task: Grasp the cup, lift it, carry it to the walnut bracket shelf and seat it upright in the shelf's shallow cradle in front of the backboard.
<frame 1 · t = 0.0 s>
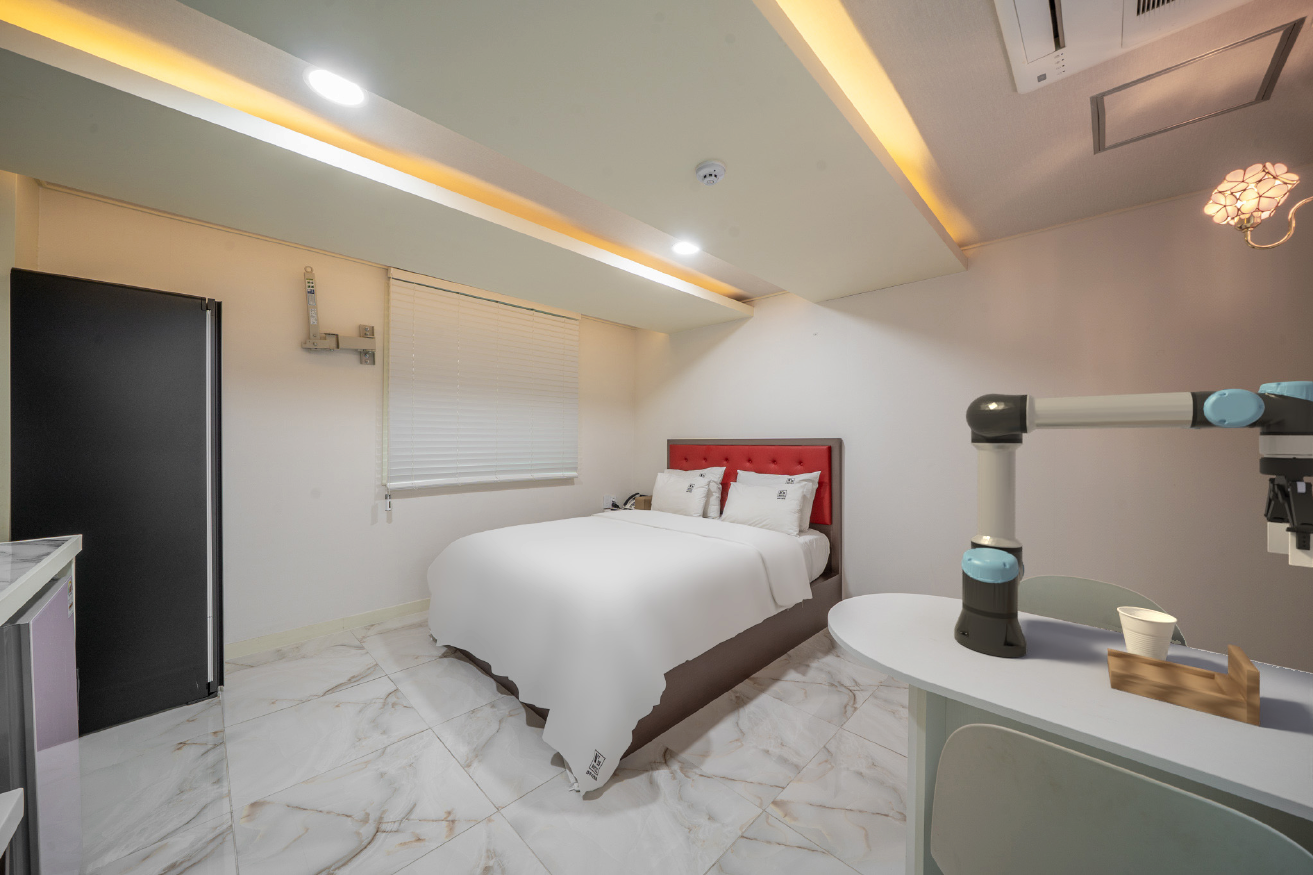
hand: (1288, 559, 96), 28 cm above the table, fingers open, 13 cm apart
bracket shelf: (1169, 690, 97), on the table
cup: (1146, 660, 110), on the table
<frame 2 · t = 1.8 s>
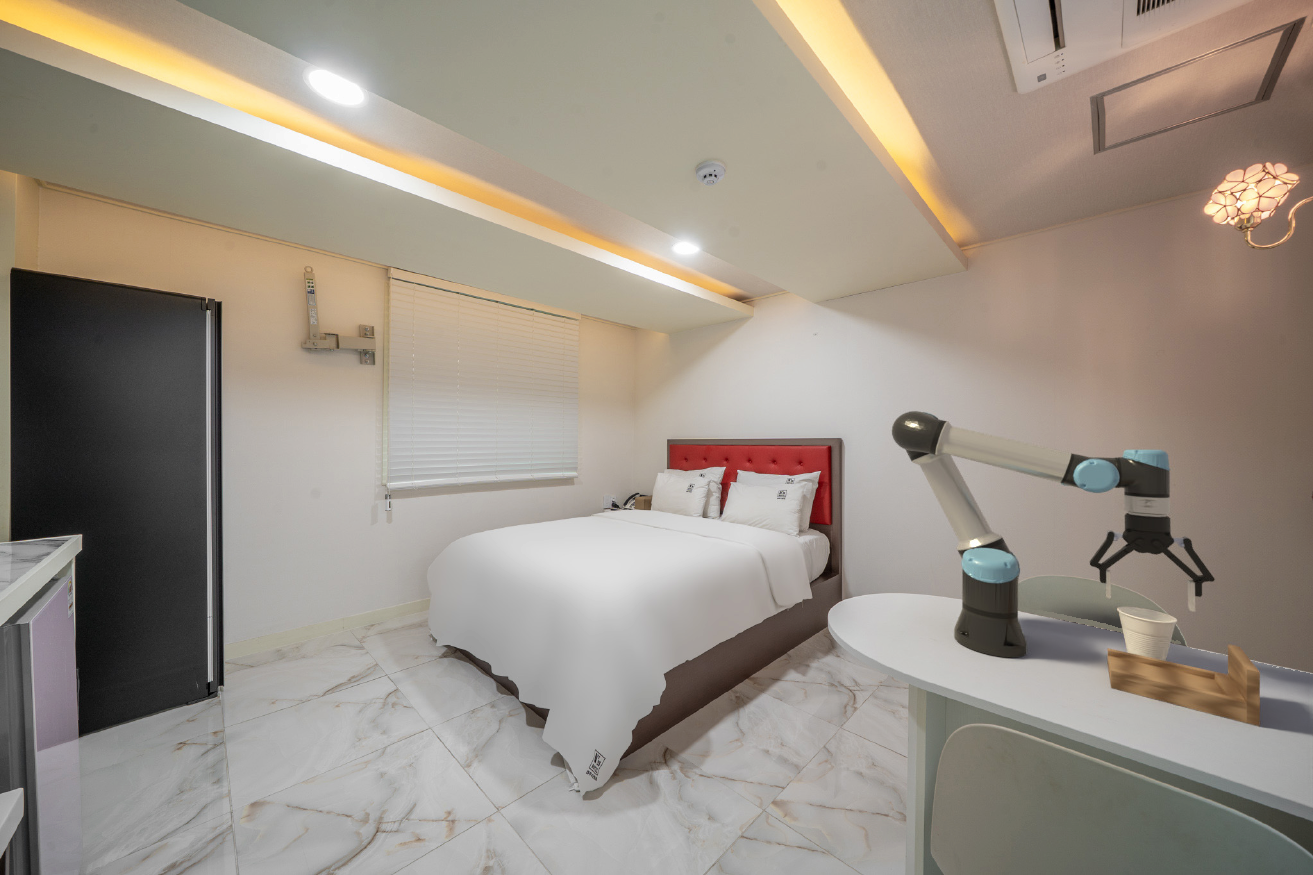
hand: (1148, 603, 110), 14 cm above the table, fingers open, 13 cm apart
nothing on the table moved.
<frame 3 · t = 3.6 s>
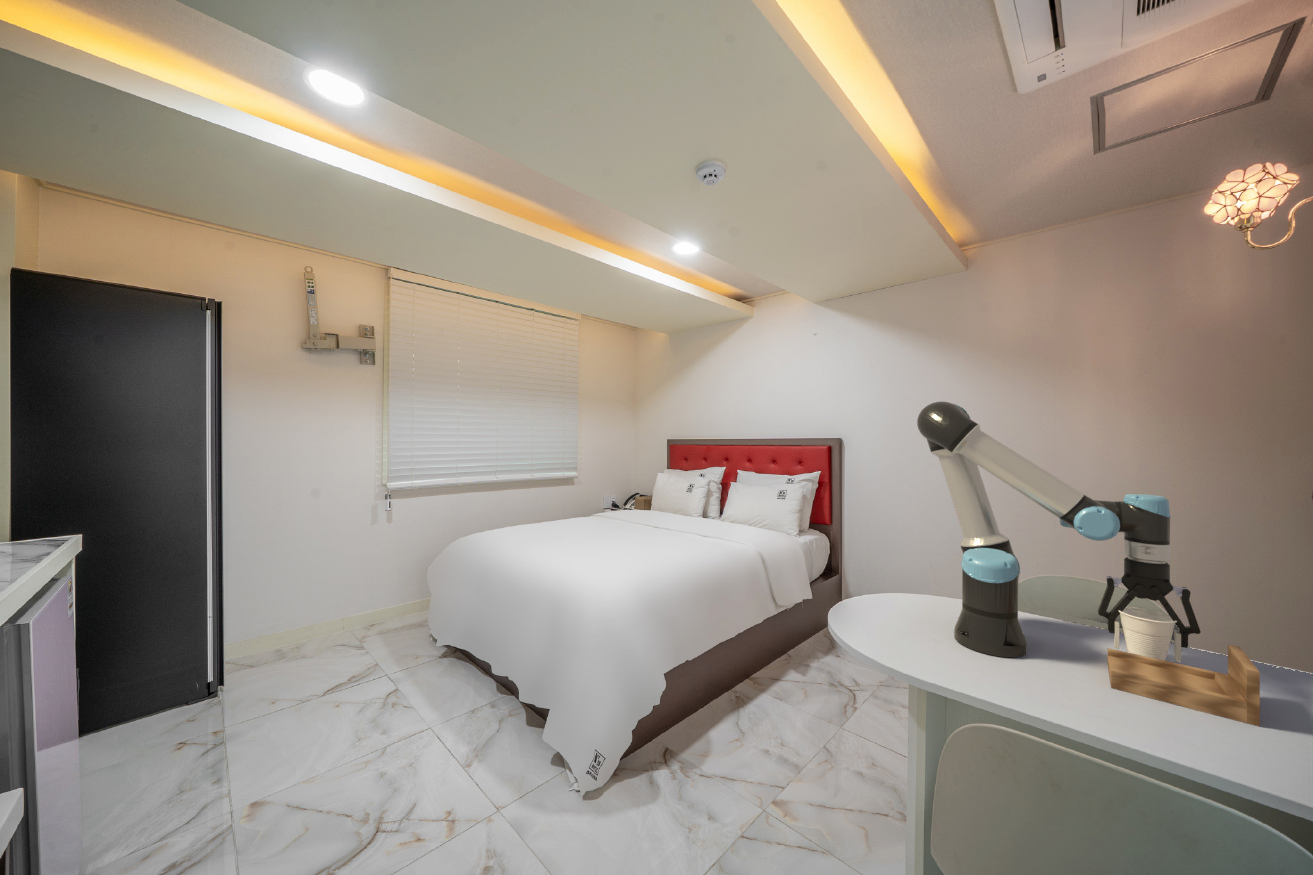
hand: (1146, 653, 110), 2 cm above the table, fingers closed on cup, 9 cm apart
cup: (1146, 660, 110), on the table, touching gripper
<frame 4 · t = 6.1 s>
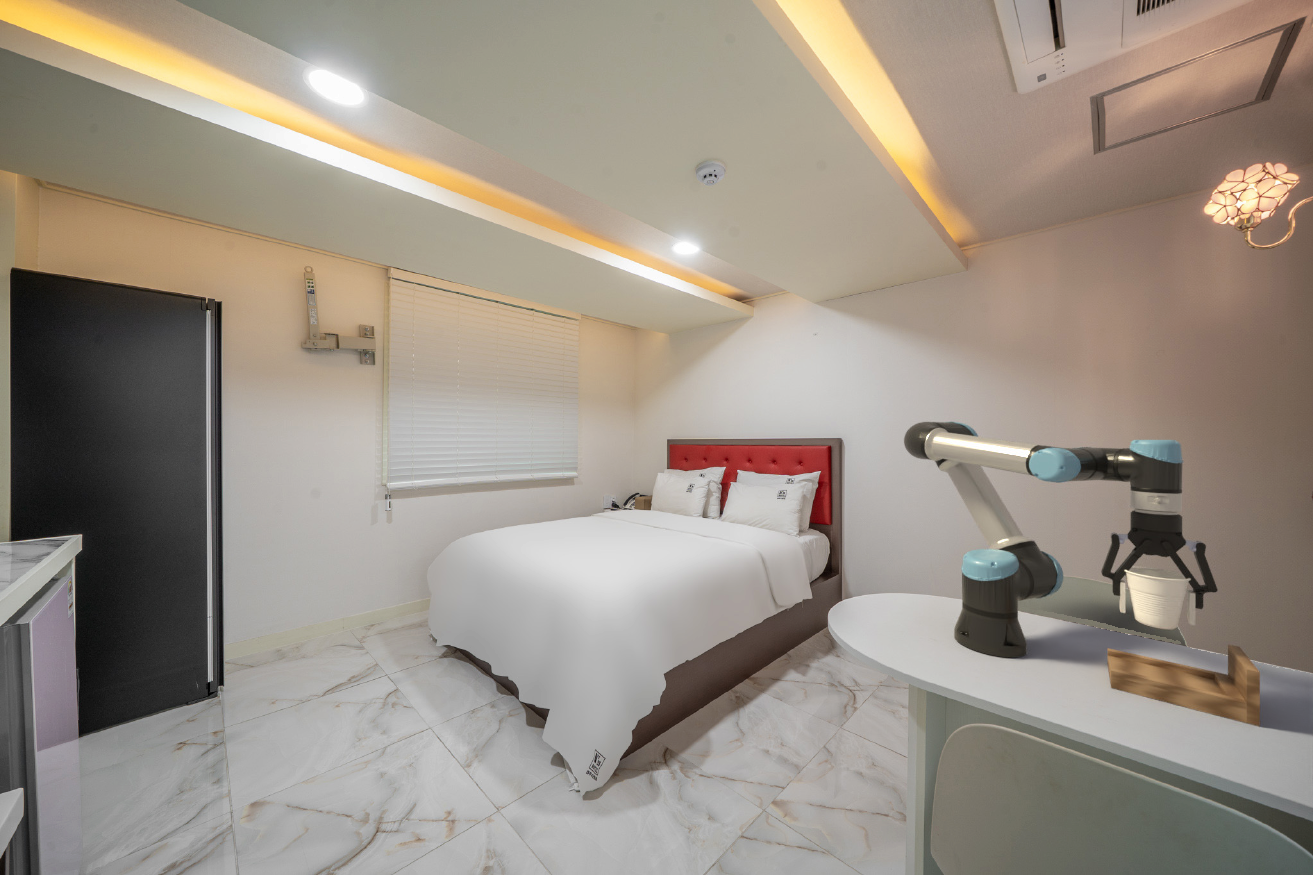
hand: (1155, 616, 99), 15 cm above the table, fingers closed on cup, 9 cm apart
cup: (1155, 625, 99), point 13 cm above the table, touching gripper
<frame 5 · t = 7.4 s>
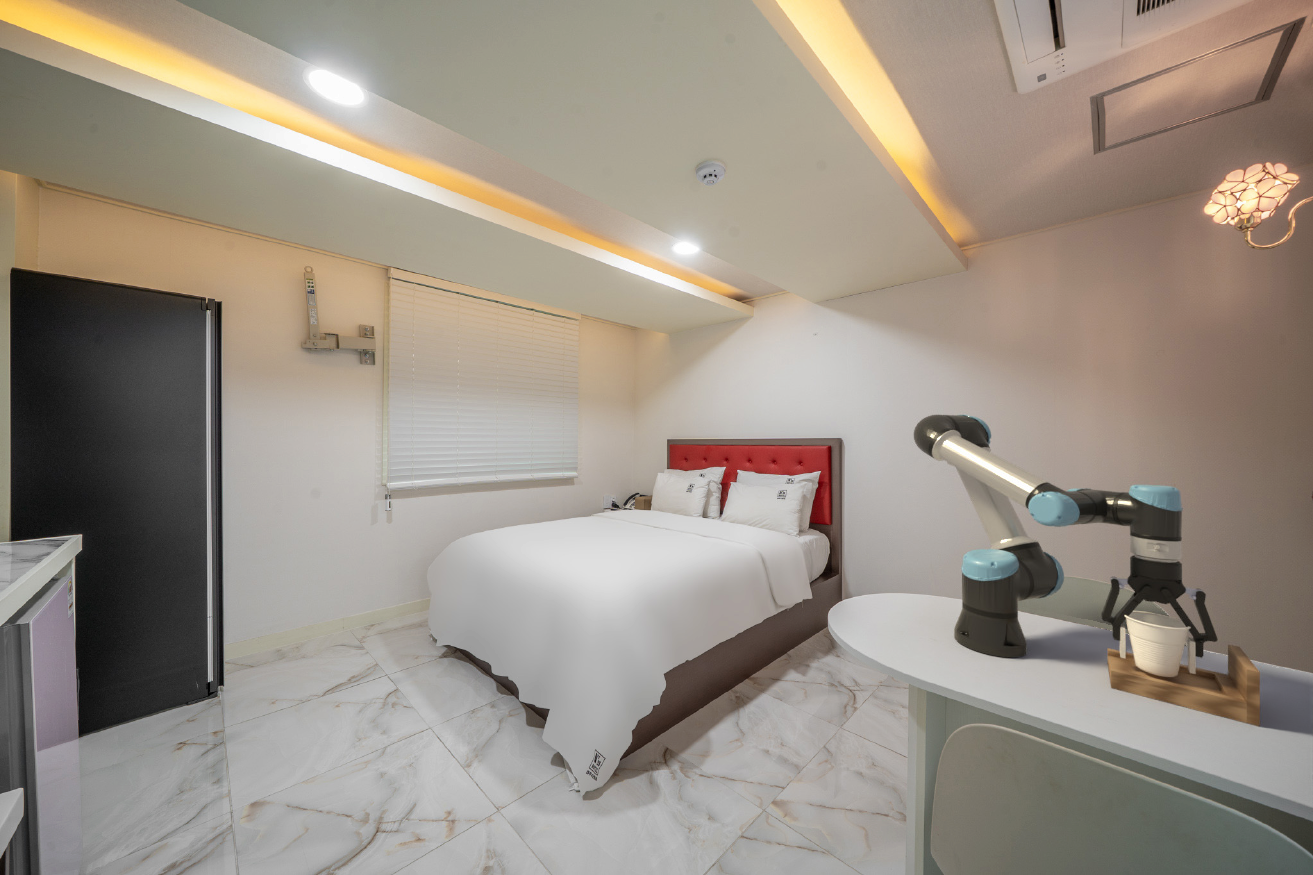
hand: (1155, 663, 98), 5 cm above the table, fingers closed on cup, 9 cm apart
cup: (1156, 671, 98), point 3 cm above the table, touching gripper
when the fingers open (4 cm above the table, at t = 8.6 s): cup stays where it is, resting on bracket shelf.
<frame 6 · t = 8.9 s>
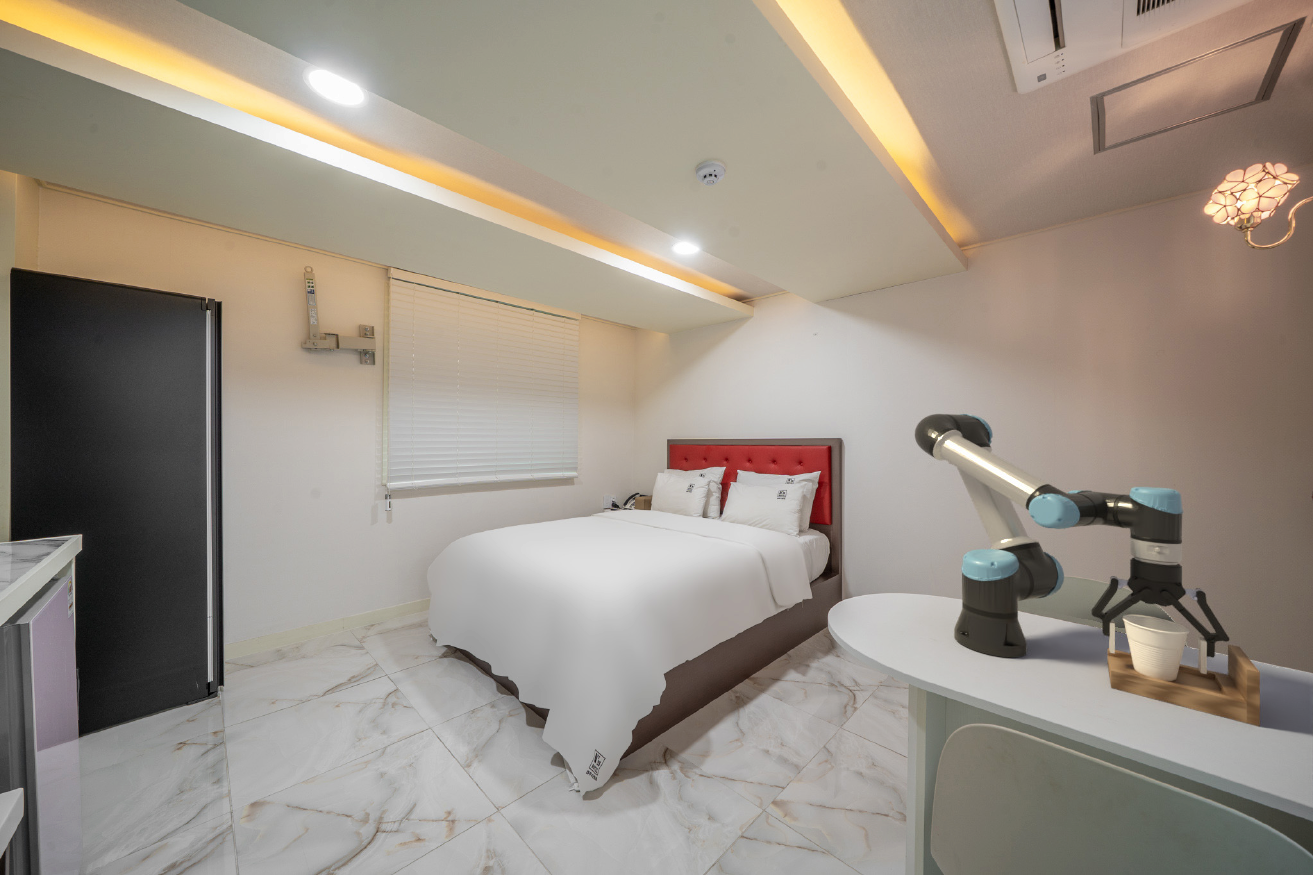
hand: (1155, 660, 99), 6 cm above the table, fingers open, 12 cm apart
cup: (1154, 675, 99), point 2 cm above the table, touching bracket shelf
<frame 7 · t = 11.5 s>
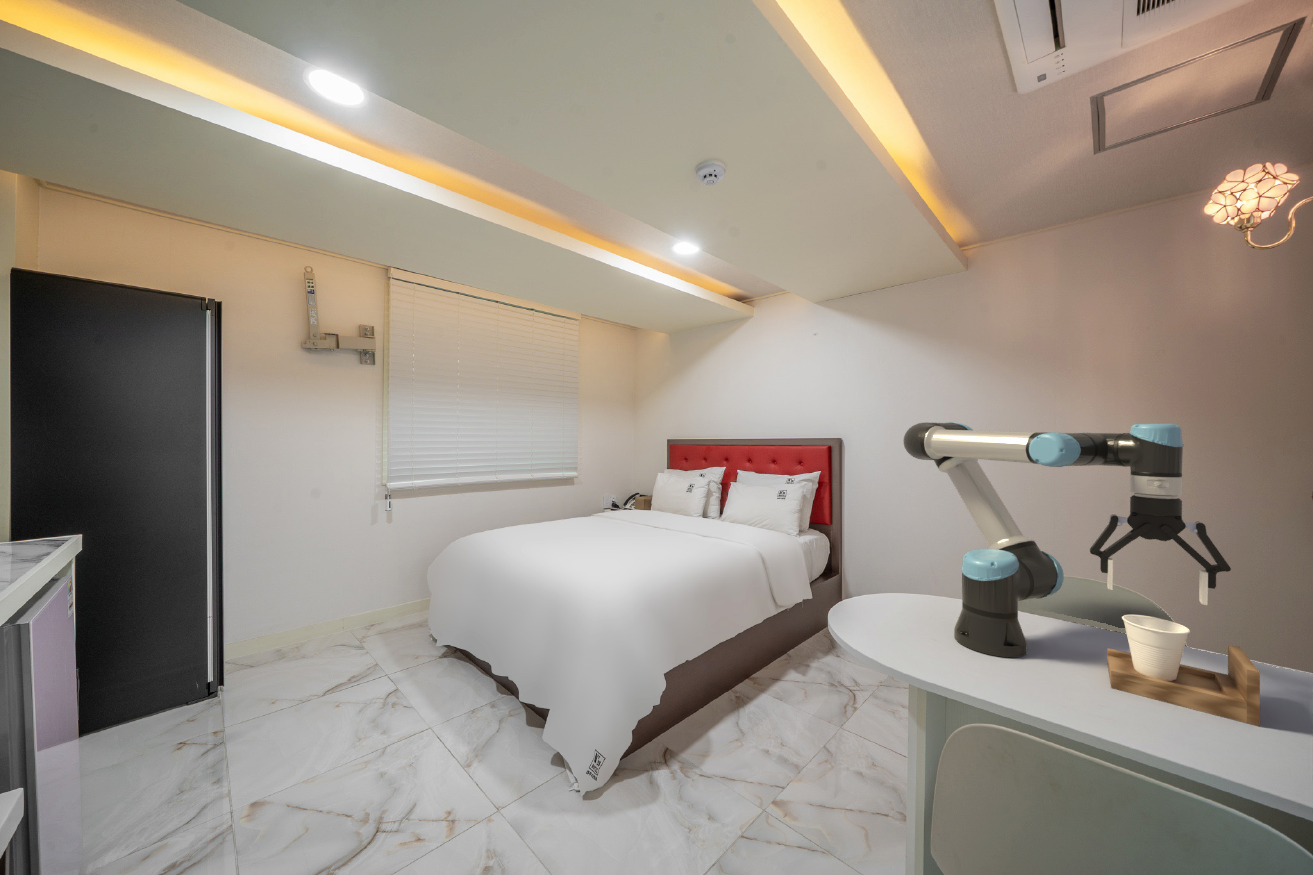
hand: (1154, 595, 99), 19 cm above the table, fingers open, 13 cm apart
nothing on the table moved.
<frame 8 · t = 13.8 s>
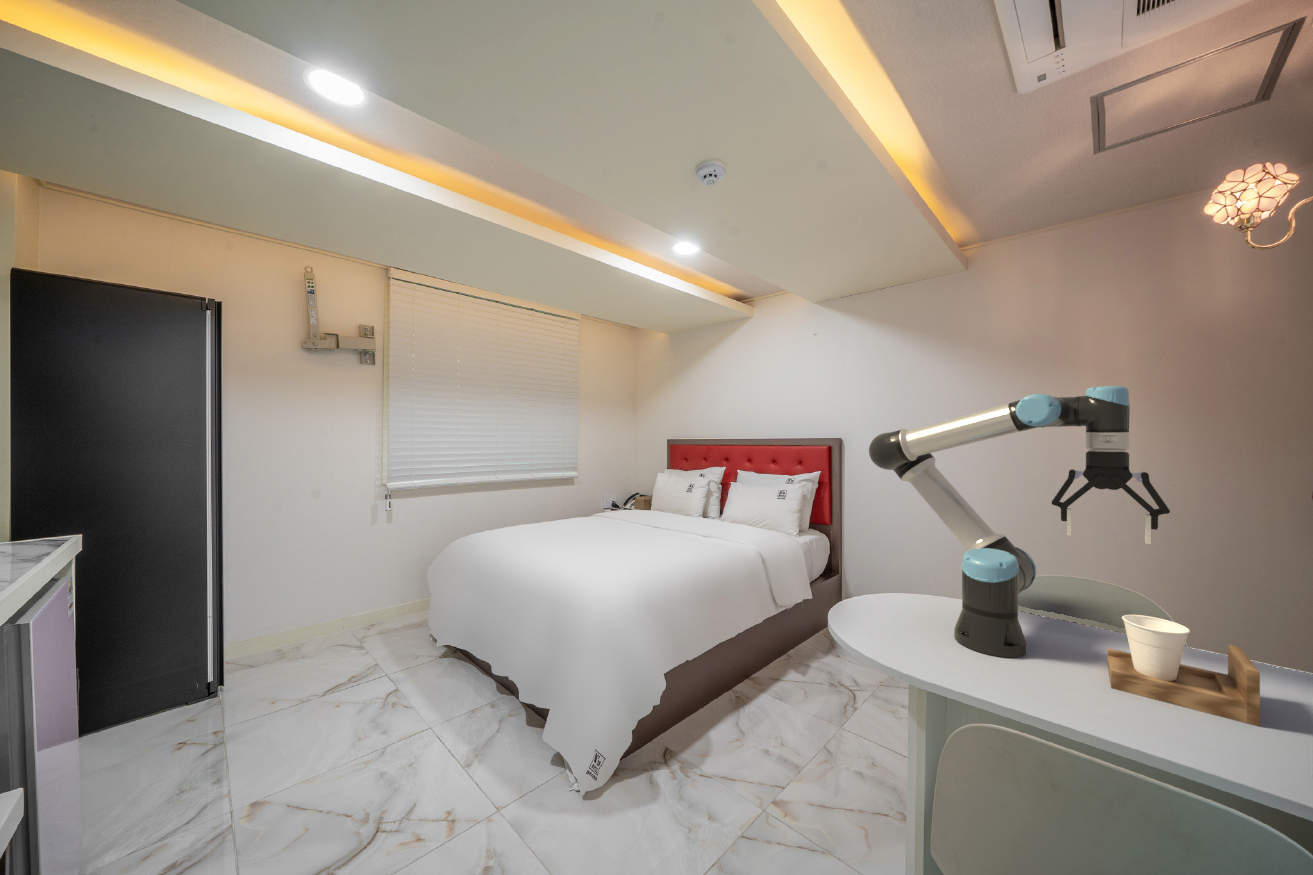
hand: (1106, 538, 111), 29 cm above the table, fingers open, 13 cm apart
nothing on the table moved.
at the end: cup inside the target area on the bracket shelf (0.1 cm from its centre), point 2.3 cm above the bracket shelf's base; cup tilted 0°; cup touching bracket shelf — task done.
